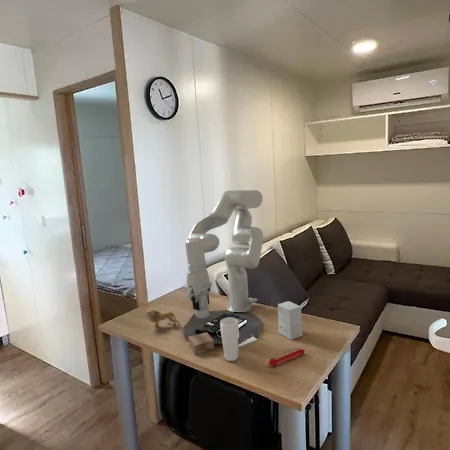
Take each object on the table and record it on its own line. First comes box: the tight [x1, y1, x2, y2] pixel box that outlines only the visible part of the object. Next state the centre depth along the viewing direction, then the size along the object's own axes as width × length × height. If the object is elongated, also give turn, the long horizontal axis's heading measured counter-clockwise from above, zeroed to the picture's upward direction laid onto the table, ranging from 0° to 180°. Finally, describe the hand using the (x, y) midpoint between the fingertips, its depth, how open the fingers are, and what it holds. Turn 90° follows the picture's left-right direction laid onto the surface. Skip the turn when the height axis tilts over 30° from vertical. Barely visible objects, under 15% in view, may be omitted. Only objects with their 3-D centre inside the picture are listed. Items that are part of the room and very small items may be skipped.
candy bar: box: [267, 347, 306, 367], centre depth 134 cm, size 16×4×3 cm, turn 121°
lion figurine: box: [145, 309, 180, 330], centre depth 169 cm, size 15×5×9 cm, turn 109°
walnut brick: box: [188, 331, 215, 355], centre depth 147 cm, size 8×8×4 cm
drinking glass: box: [219, 316, 240, 362], centre depth 137 cm, size 7×7×15 cm
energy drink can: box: [194, 286, 210, 320], centre depth 157 cm, size 6×6×15 cm
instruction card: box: [238, 335, 258, 348], centre depth 151 cm, size 12×9×1 cm
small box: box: [277, 300, 303, 341], centre depth 153 cm, size 8×6×13 cm
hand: (201, 306), depth 158 cm, fingers closed on energy drink can, 6 cm apart
